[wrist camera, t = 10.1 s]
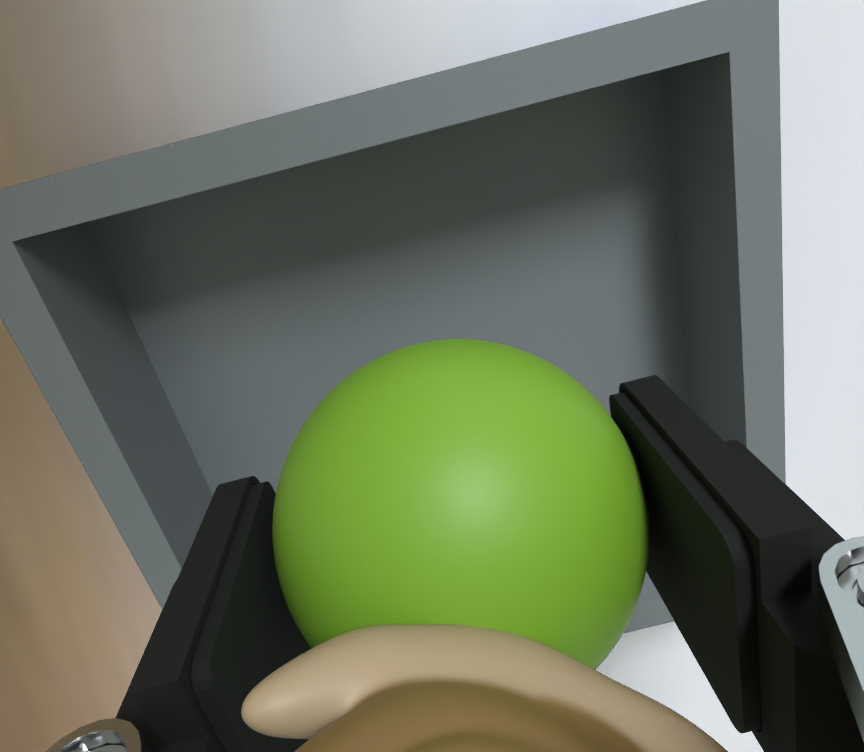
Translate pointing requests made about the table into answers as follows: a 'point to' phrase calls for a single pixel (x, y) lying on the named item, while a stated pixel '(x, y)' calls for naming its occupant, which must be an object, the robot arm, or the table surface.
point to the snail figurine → (461, 564)
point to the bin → (414, 258)
